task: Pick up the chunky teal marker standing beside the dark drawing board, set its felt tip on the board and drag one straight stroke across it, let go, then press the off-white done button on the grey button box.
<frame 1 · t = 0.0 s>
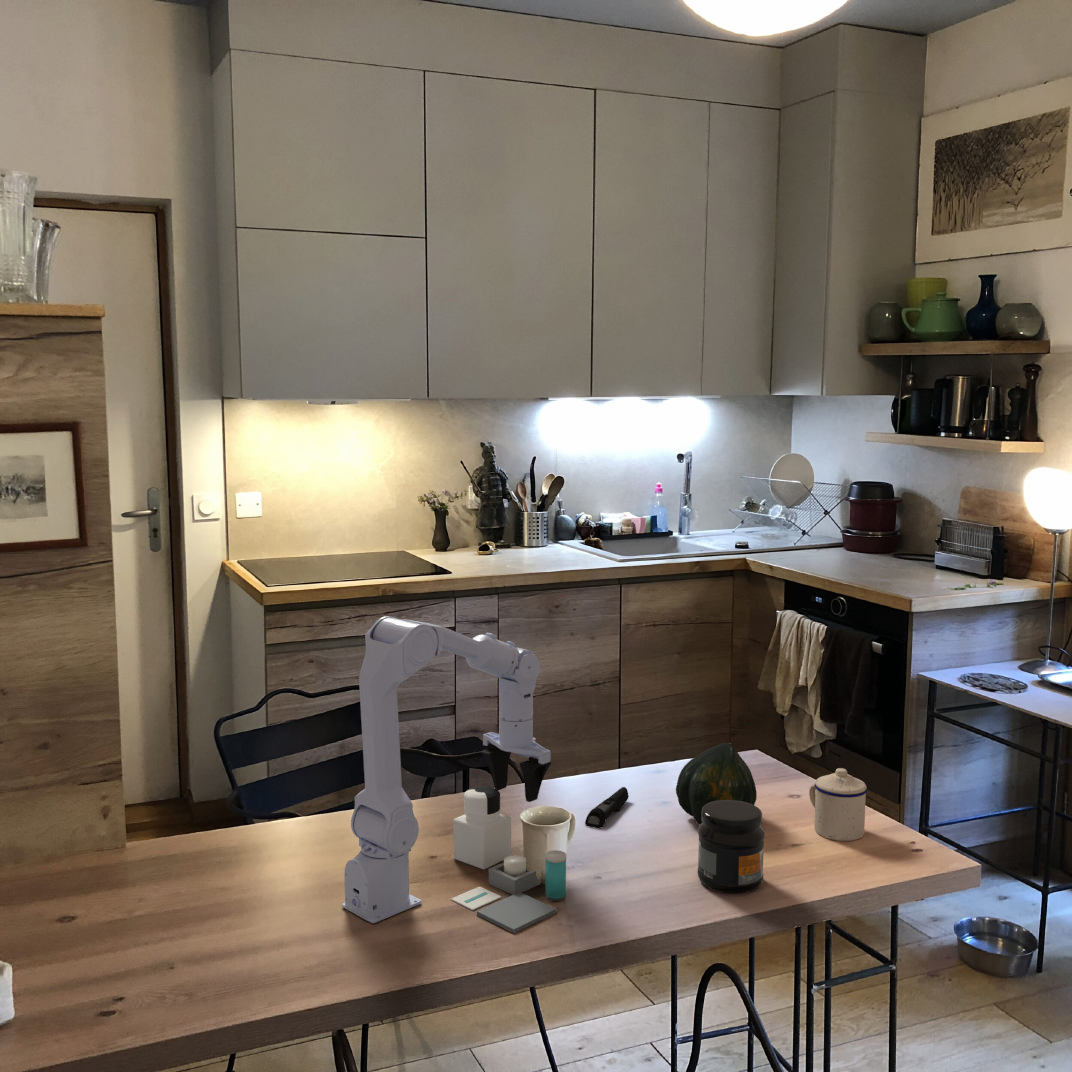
hand: (516, 794, 184), 10 cm above the table, tool pointing down, fingers open, 7 cm apart
squash: (715, 820, 200), on the table
button box: (515, 883, 173), on the table
medicine bottle: (482, 859, 183), on the table
done button: (515, 867, 173), point 3 cm above the table, slide at 0.0 cm
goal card: (476, 898, 168), on the table
marker: (555, 897, 168), on the table
electric trimmer: (607, 815, 203), on the table
teacup with lid: (833, 830, 195), on the table
supplement container: (730, 882, 174), on the table
drawing board: (516, 913, 163), on the table
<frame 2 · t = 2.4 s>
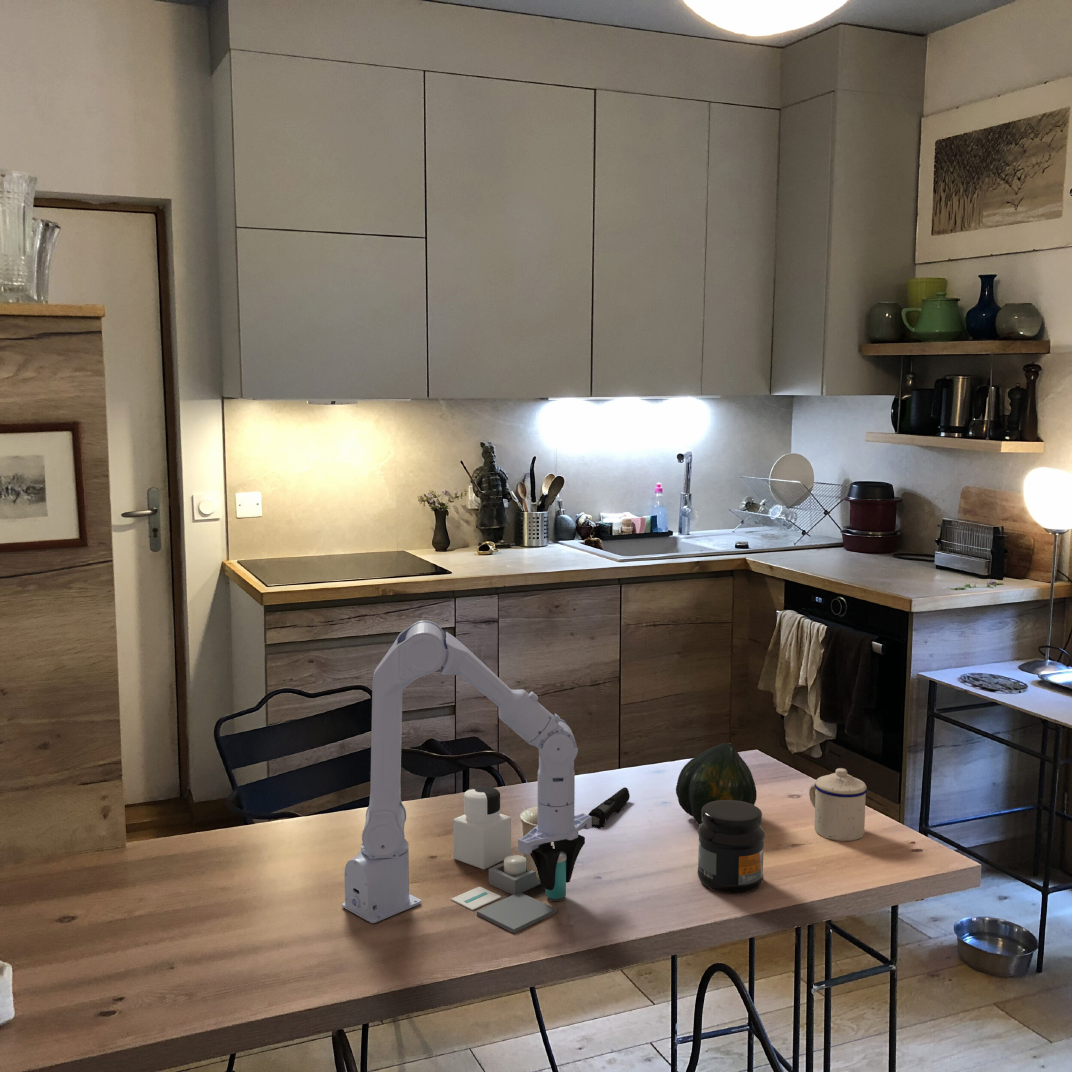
hand: (555, 884, 168), 2 cm above the table, tool pointing down, fingers closed on marker, 3 cm apart
marker: (555, 897, 168), on the table, touching gripper
everything else where it was.
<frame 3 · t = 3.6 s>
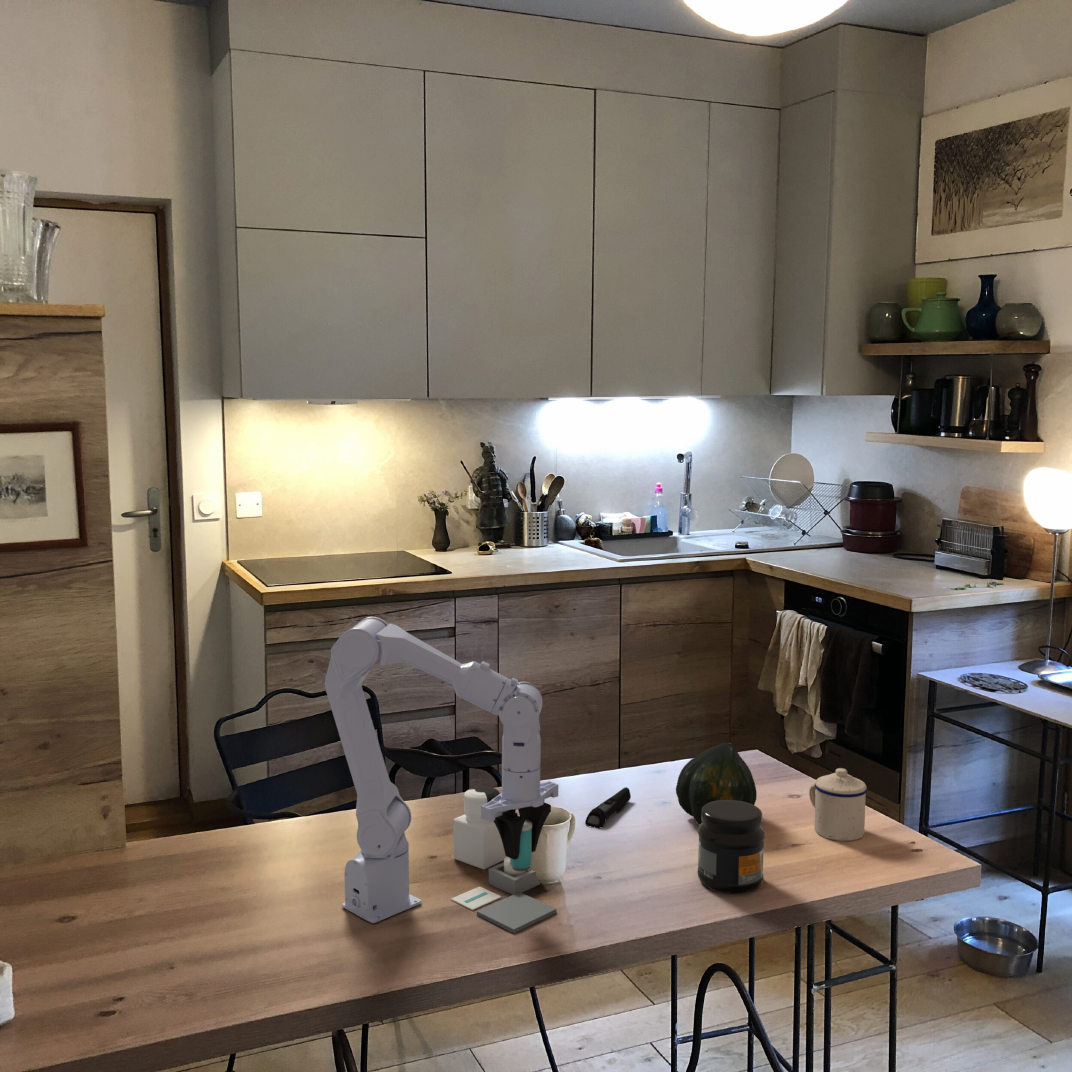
hand: (520, 853, 162), 9 cm above the table, tool pointing down, fingers closed on marker, 3 cm apart
marker: (520, 867, 162), point 7 cm above the table, touching gripper
everything else where it was.
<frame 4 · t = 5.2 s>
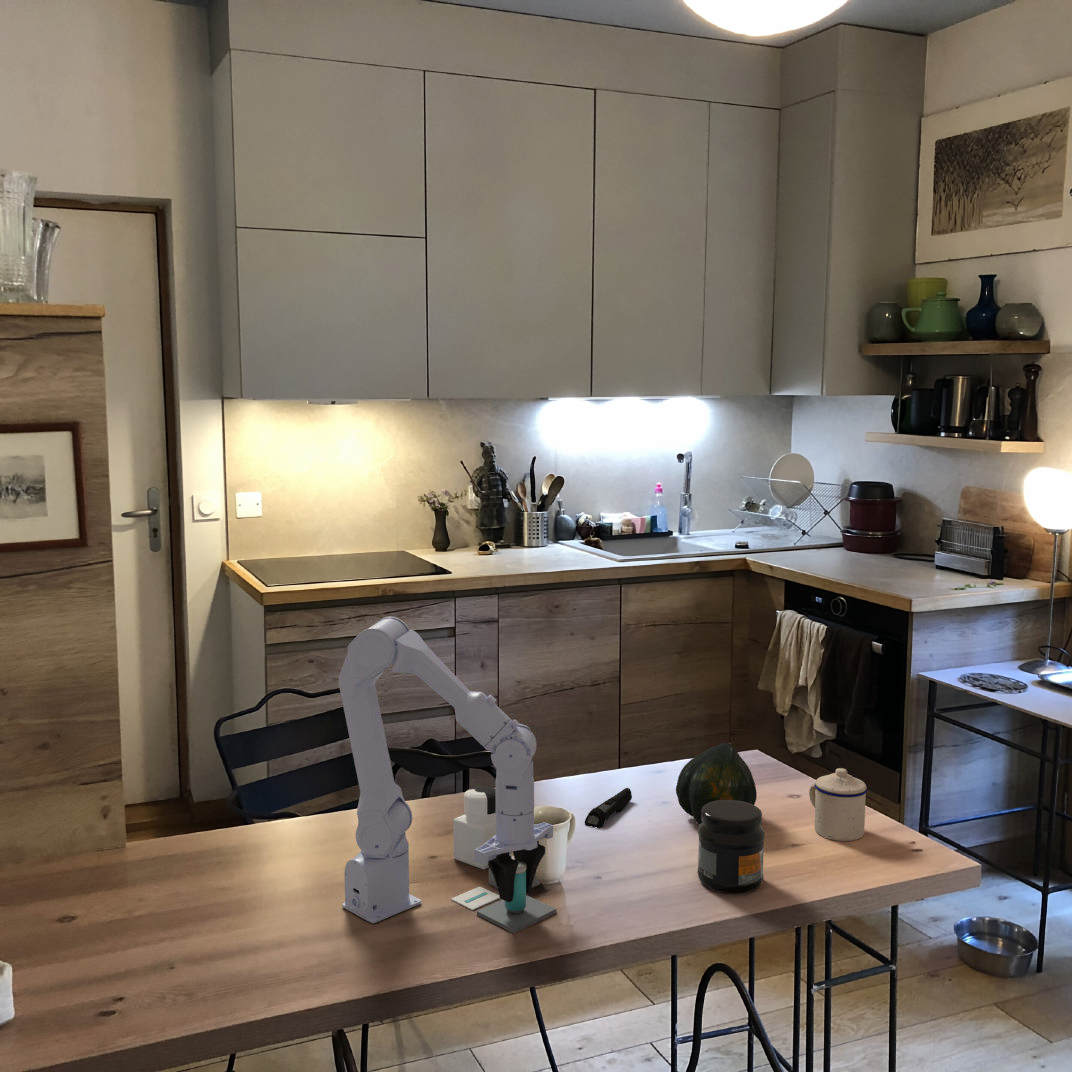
hand: (515, 895, 162), 3 cm above the table, tool pointing down, fingers closed on marker, 3 cm apart
marker: (515, 909, 162), point 1 cm above the table, touching gripper
everything else where it was.
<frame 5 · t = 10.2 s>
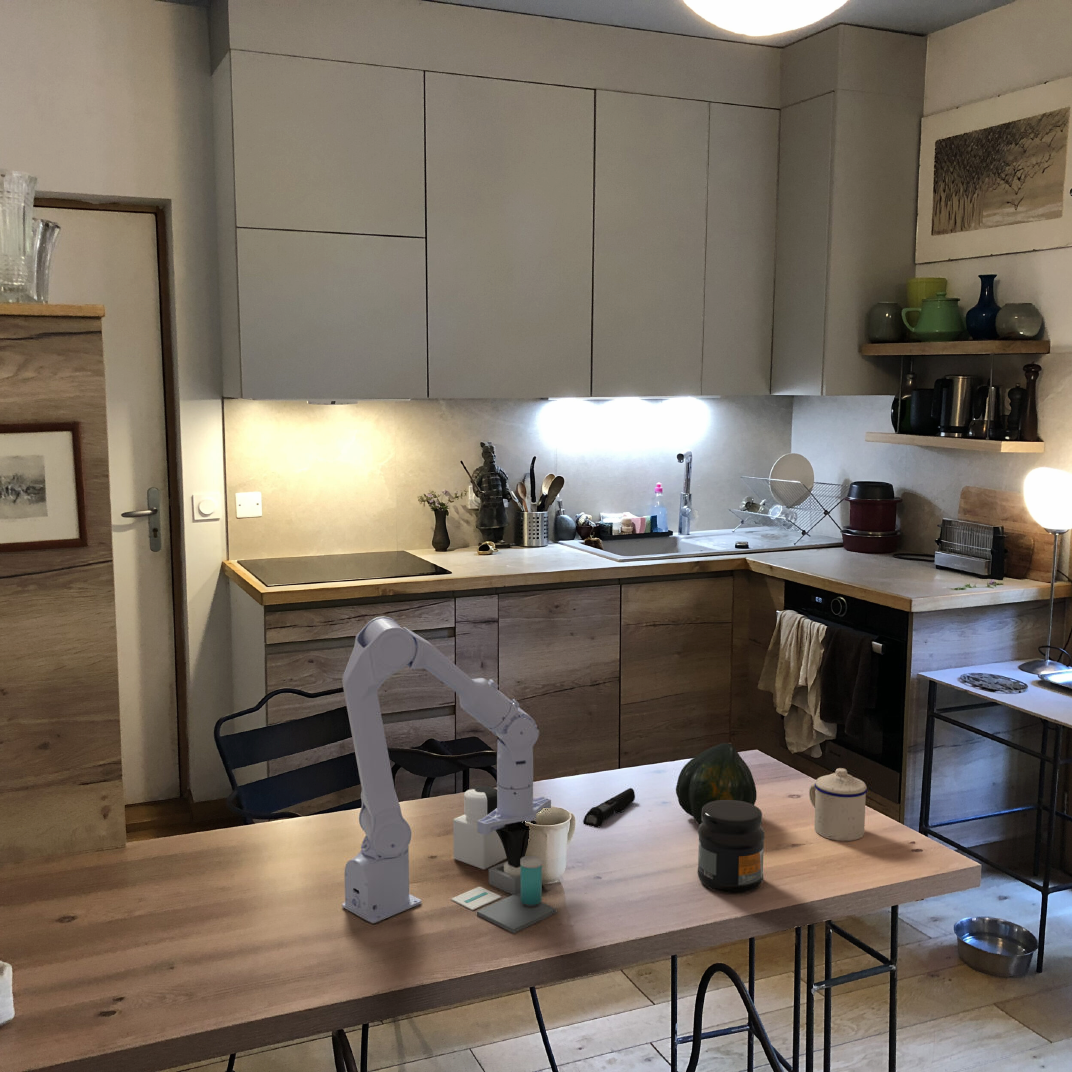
hand: (515, 865, 173), 3 cm above the table, tool pointing down, fingers closed, pressing on done button
done button: (515, 872, 173), point 2 cm above the table, slide at 0.9 cm, touching gripper
marker: (531, 903, 165), point 1 cm above the table, touching drawing board
everything else where it was.
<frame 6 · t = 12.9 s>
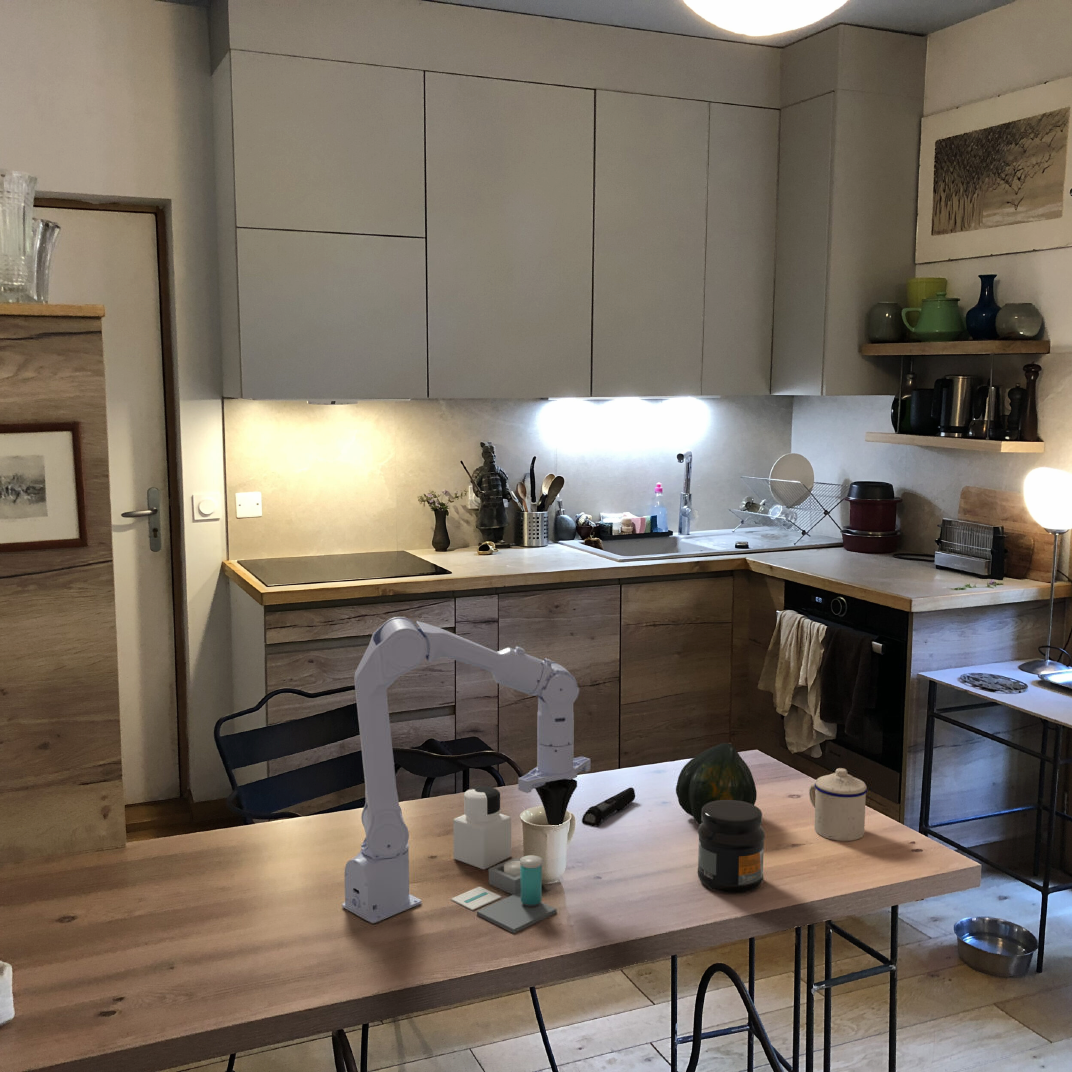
hand: (555, 824, 171), 10 cm above the table, tool pointing down, fingers closed
done button: (515, 873, 173), point 2 cm above the table, slide at 0.9 cm
everything else where it was.
at the end: marker inside the target area on the drawing board (3.0 cm from its centre), point 0.6 cm above the drawing board's base; marker tilted 0°; done button slide at 0.9 cm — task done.
